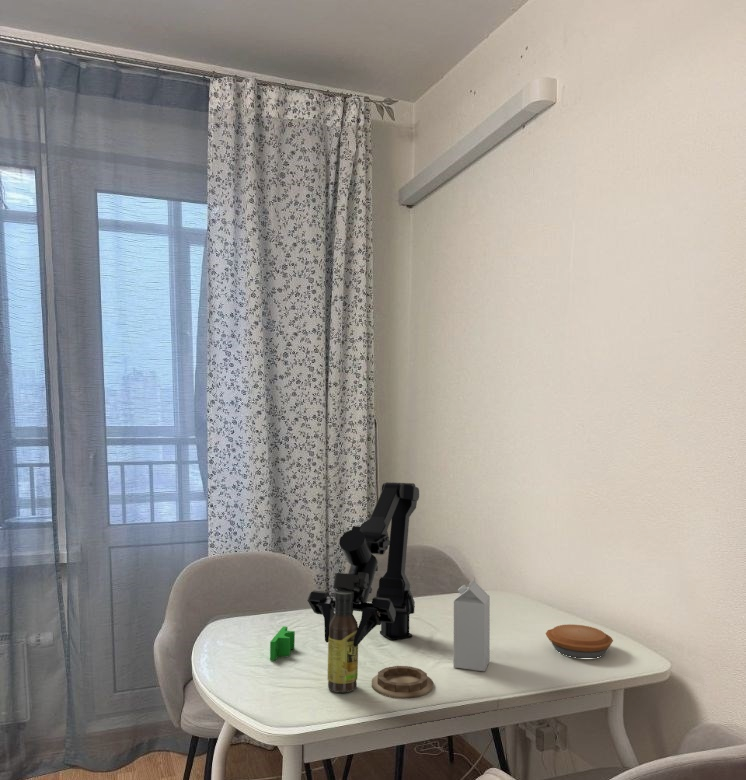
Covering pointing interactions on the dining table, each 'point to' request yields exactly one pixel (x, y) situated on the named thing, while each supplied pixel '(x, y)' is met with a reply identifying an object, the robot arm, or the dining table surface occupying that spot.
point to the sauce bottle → (342, 644)
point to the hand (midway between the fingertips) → (340, 643)
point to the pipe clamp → (282, 643)
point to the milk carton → (472, 628)
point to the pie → (579, 641)
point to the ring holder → (402, 682)
